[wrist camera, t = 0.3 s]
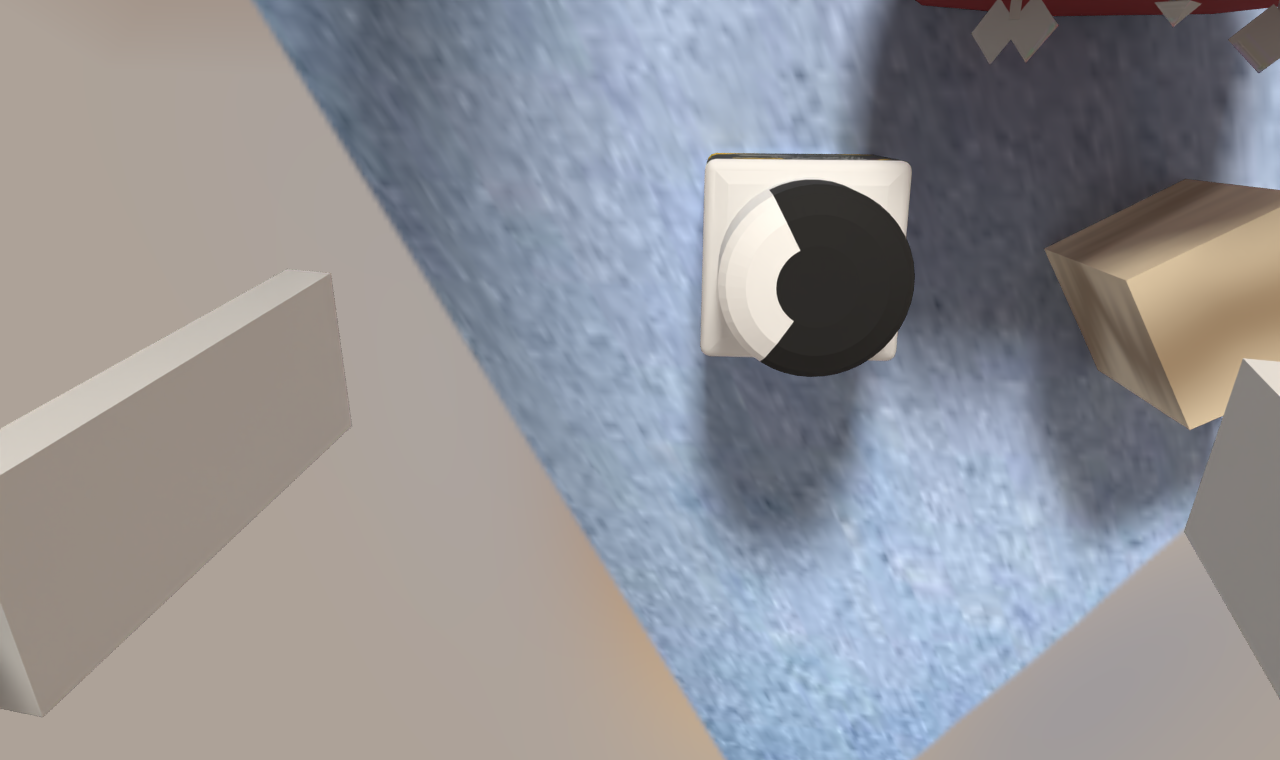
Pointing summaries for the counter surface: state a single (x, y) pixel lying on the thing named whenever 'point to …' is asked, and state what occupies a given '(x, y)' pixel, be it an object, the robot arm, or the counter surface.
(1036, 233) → the counter surface
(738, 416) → the counter surface
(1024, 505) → the counter surface
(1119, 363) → the beech block
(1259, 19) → the alarm clock
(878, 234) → the medicine bottle
